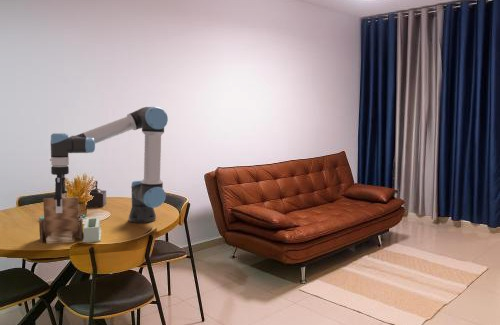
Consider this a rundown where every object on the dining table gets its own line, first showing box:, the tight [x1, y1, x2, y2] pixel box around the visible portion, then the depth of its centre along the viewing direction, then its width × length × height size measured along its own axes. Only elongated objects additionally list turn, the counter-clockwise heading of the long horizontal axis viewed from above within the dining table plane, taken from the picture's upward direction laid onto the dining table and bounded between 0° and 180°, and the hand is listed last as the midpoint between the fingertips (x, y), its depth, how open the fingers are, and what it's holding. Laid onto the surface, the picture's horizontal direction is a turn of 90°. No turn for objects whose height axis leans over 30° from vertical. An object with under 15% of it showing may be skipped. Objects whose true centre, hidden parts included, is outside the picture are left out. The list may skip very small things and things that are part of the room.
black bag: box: [86, 180, 107, 208], centre depth 260 cm, size 16×11×18 cm
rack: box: [38, 216, 84, 244], centre depth 192 cm, size 18×8×10 cm, turn 109°
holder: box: [81, 217, 102, 243], centre depth 197 cm, size 8×19×7 cm, turn 19°
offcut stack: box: [45, 231, 77, 245], centre depth 189 cm, size 12×5×4 cm, turn 107°
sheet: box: [42, 196, 80, 241], centre depth 192 cm, size 15×2×20 cm, turn 109°
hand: (60, 209), depth 192 cm, fingers open, 13 cm apart
